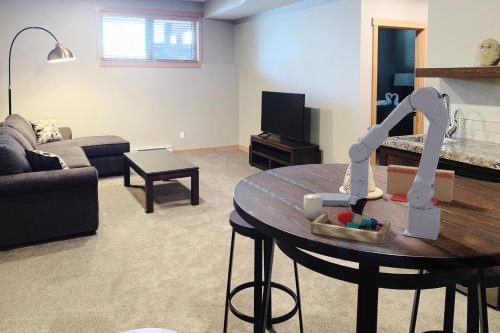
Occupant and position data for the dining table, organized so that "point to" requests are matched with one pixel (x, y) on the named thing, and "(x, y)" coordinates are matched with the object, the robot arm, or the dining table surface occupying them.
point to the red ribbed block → (403, 180)
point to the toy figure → (357, 220)
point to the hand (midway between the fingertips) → (357, 219)
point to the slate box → (335, 199)
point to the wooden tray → (348, 231)
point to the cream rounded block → (313, 206)
